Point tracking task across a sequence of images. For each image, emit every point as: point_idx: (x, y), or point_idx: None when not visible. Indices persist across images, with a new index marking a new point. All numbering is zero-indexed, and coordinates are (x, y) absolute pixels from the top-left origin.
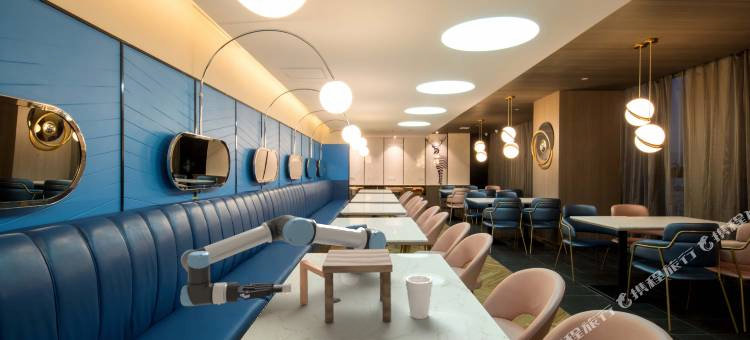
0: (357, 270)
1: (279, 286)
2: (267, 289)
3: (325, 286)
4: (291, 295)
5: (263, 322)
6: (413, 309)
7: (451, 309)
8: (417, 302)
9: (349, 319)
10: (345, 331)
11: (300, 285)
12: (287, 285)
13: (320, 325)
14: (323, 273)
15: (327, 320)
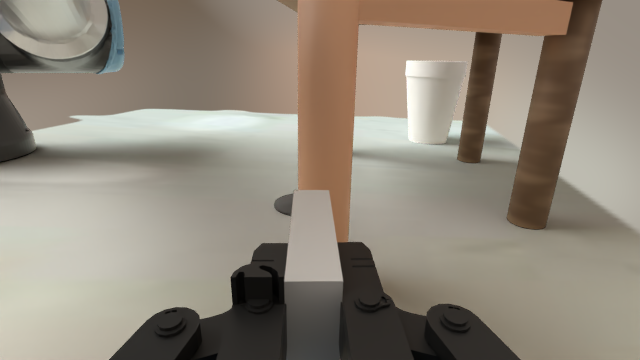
0: None
1: (336, 245)
2: (490, 345)
3: (583, 70)
4: (93, 344)
5: None
6: (448, 125)
7: (395, 125)
8: (455, 106)
9: (483, 192)
10: (581, 201)
11: (340, 168)
12: (330, 202)
13: (575, 239)
14: (570, 10)
15: (548, 213)
